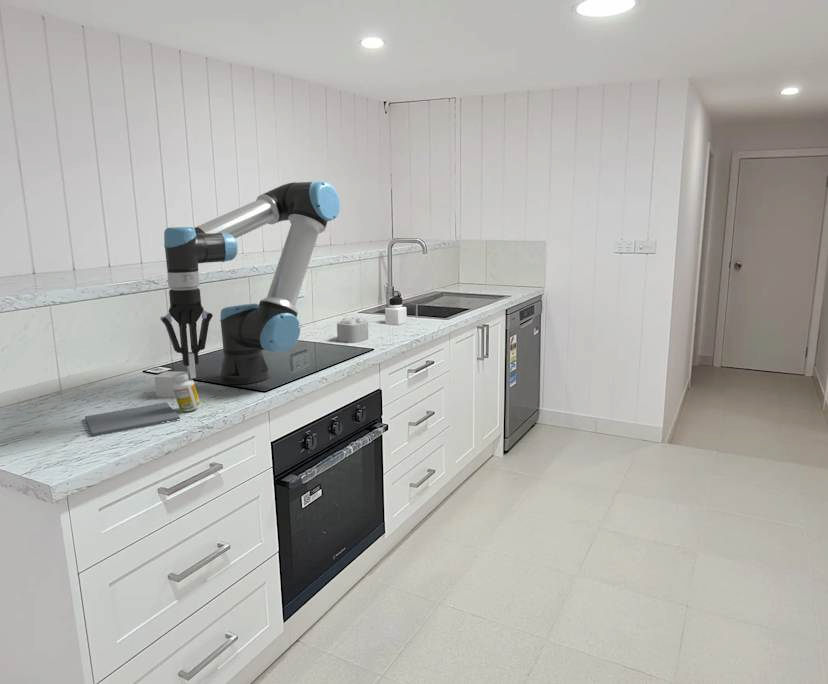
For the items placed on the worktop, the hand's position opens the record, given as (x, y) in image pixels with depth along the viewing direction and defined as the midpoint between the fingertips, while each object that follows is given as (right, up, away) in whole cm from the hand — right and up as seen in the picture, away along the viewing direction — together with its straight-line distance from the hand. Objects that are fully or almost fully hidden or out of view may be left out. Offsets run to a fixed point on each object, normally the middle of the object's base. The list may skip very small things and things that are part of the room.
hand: (192, 377), depth 167 cm
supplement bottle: (-1, -8, +1) cm, 9 cm away
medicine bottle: (+51, +17, +118) cm, 129 cm away
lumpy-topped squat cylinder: (+35, +10, +86) cm, 93 cm away
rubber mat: (-13, -11, -6) cm, 18 cm away
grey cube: (-11, -6, +16) cm, 20 cm away
